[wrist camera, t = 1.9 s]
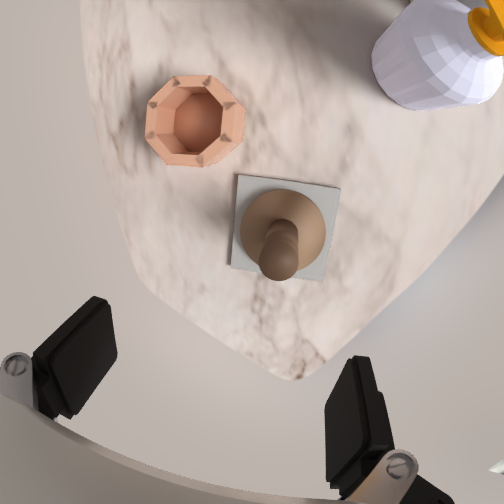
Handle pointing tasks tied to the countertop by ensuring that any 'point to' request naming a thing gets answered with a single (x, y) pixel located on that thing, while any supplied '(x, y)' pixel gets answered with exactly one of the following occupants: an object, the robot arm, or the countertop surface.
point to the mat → (257, 186)
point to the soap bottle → (441, 54)
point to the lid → (282, 233)
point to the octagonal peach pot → (194, 121)
